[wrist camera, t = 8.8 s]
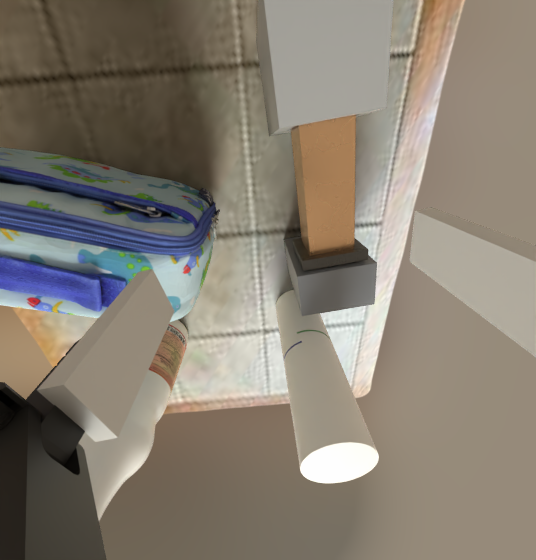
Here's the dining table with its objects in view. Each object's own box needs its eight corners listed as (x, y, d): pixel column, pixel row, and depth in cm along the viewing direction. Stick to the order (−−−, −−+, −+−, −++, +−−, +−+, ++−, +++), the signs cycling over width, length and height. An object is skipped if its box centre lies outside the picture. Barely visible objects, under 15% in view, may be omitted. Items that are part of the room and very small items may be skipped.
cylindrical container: (267, 303, 43) (284, 464, 21) (300, 282, 41) (356, 432, 19) (290, 327, 46) (325, 490, 24) (321, 308, 44) (391, 464, 22)
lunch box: (229, 188, 33) (202, 235, 15) (217, 257, 38) (186, 357, 20) (15, 134, 29) (-393, 105, 11) (33, 220, 34) (-227, 303, 15)
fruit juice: (183, 356, 48) (110, 574, 23) (133, 344, 46) (-5, 571, 21) (195, 321, 44) (123, 539, 19) (141, 306, 42) (-17, 531, 17)
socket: (283, 239, 37) (297, 276, 26) (339, 229, 37) (376, 262, 26) (288, 270, 40) (301, 316, 29) (340, 261, 40) (374, 303, 29)
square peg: (275, 98, 25) (283, 81, 19) (344, 85, 25) (376, 63, 18) (296, 275, 35) (306, 302, 29) (345, 266, 35) (366, 292, 28)
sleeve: (256, 41, 26) (259, -37, 15) (335, 26, 26) (397, -66, 15) (269, 136, 31) (279, 128, 20) (337, 123, 30) (386, 107, 19)
